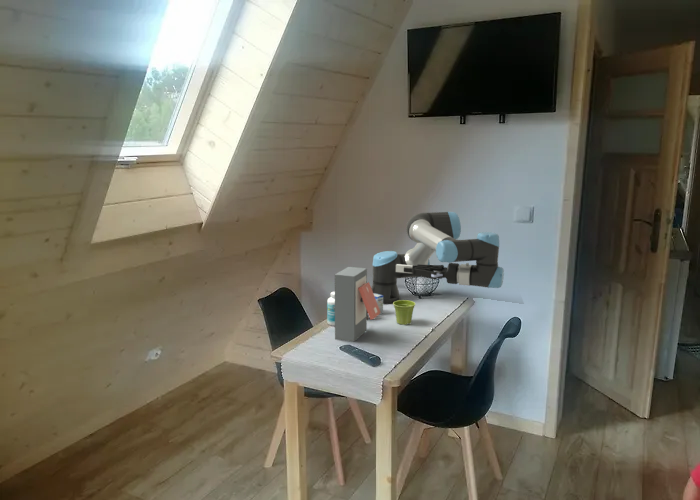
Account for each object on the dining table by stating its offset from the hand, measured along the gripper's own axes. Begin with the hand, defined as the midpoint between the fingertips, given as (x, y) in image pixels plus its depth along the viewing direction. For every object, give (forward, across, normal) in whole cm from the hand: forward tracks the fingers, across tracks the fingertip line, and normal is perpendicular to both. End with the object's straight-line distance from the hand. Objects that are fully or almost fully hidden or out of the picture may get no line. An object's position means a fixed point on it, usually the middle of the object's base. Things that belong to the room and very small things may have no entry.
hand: (396, 267), depth 206 cm
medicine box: (+19, -30, +30) cm, 46 cm away
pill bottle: (+29, -10, +30) cm, 43 cm away
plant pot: (+3, -22, +30) cm, 37 cm away
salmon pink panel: (+8, 0, +20) cm, 22 cm away
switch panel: (+17, 0, +29) cm, 34 cm away
